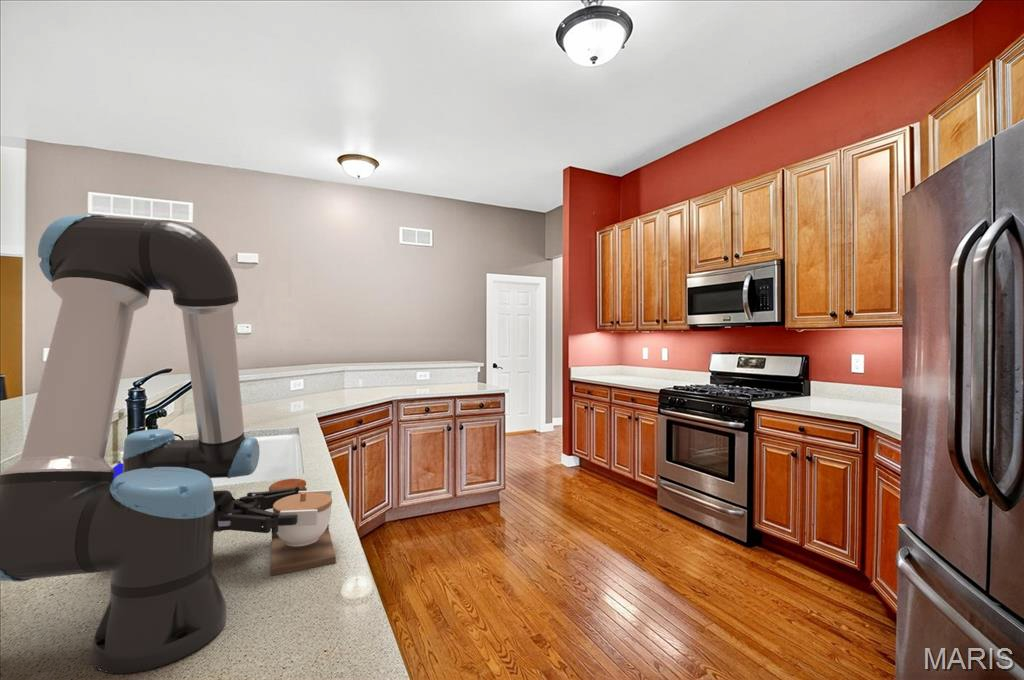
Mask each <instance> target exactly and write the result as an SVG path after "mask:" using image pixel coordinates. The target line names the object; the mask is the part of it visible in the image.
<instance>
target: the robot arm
mask: <svg viewBox="0 0 1024 680" xmlns="http://www.w3.org/2000/svg"><path fill="white" fill-rule="evenodd" d="M38 242H39V243H38V247H37V257H38V258H40V260H41V261H40V262H39V264H38V265H39V268H40V270H41V272H42V273H43V276H44V277H45V278H46V279H47V280H48V281H49V282H51V289H52V291H53V292H54V293H55V294H56V295H57V296H58V297H60V299H61V303H60V305H59V306H60V307H59V310H58V315H57V317H56V318H57V319H56V322H55V325H54V330H53V334H52V338H51V341H50V344H49V349H48V352H47V357H46V359H45V364H44V368H43V372H42V376H41V380H40V383H39V388H38V391H37V394H36V398H35V403H34V406H33V411H32V414H31V418H30V422H29V425H28V428H27V429H28V430H27V433H26V436H25V441H24V445H23V449H22V453H21V456H20V459H19V460H18V461H17V462H16V463H14V464H13V465H11V466H10V467H8V468H6V469H4V470H3V471H1V472H0V582H6V581H7V582H10V581H11V582H16V583H17V582H18V583H20V582H25V581H29V580H33V579H35V580H36V579H43V578H45V579H46V578H53V577H63V576H72V575H73V576H74V575H84V574H93V573H104V572H105V573H106V572H109V573H110V593H109V594H110V595H109V599H108V601H107V604H106V606H105V609H104V612H103V614H102V617H101V619H100V621H99V624H98V626H97V629H96V631H95V634H94V637H93V639H92V644H91V645H92V646H91V647H92V649H91V652H92V654H91V661H92V664H94V665H93V666H94V667H95V666H96V667H97V668H99V669H101V670H103V671H102V672H104V671H107V672H106V673H108V672H112V673H111V674H131V673H138V672H137V671H139V672H142V671H141V670H144V671H147V670H146V669H148V670H151V669H150V668H152V669H155V667H156V668H159V667H162V666H165V665H169V664H171V663H174V662H176V661H178V660H180V659H182V658H184V657H187V656H189V655H191V654H193V653H194V652H196V651H198V650H200V649H201V648H203V647H204V646H205V645H207V644H208V643H210V642H211V641H212V640H213V639H214V638H215V637H217V635H218V634H219V633H220V632H221V631H222V629H223V628H224V626H225V624H226V621H227V603H226V599H225V597H224V594H223V592H222V590H221V587H220V584H219V582H218V580H217V577H216V575H215V572H214V533H220V532H223V531H238V532H239V531H240V532H249V533H260V534H269V533H270V532H271V534H272V533H276V532H278V526H279V527H288V526H308V525H317V514H318V509H312V510H289V511H280V516H278V513H274V512H273V511H270V510H271V509H272V510H273V504H274V503H275V502H276V501H278V500H279V499H282V498H284V497H287V496H291V495H295V494H300V493H302V492H306V493H324V494H327V495H329V496H331V497H332V491H333V490H332V489H321V490H320V489H319V490H318V489H316V490H315V489H313V490H307V491H300V487H296V488H289V489H281V490H273V491H269V490H268V491H267V490H265V491H258V492H257V491H256V492H254V491H252V492H251V491H249V492H247V493H246V495H245V496H242V497H241V496H240V497H239V498H237V499H236V498H234V496H233V494H232V492H231V491H229V490H225V489H224V490H214V484H213V480H212V479H219V478H220V479H222V478H226V479H231V478H237V477H238V478H239V477H245V476H249V475H252V474H254V472H255V471H256V469H257V467H258V464H259V460H260V444H259V441H258V439H257V438H256V437H250V436H245V432H244V431H245V427H244V416H243V406H242V395H241V394H242V393H241V384H240V383H241V382H240V373H239V363H238V350H237V338H236V329H235V318H234V317H235V316H234V310H233V309H234V307H235V306H237V304H239V302H240V301H239V290H238V284H237V280H236V278H235V274H234V272H233V269H232V268H231V266H230V264H229V262H228V260H227V259H226V257H225V255H224V254H223V253H222V251H221V250H220V249H219V248H218V246H217V244H215V243H214V242H213V241H212V240H211V239H210V238H209V237H208V236H207V235H206V234H204V233H203V232H201V231H200V230H198V229H196V228H194V227H192V226H191V225H188V224H185V223H183V222H180V221H176V220H170V219H147V218H146V219H145V218H133V217H131V218H130V217H115V216H114V217H113V216H106V215H101V214H86V215H82V214H81V215H79V214H76V215H75V214H74V215H73V214H72V215H67V216H61V217H60V218H57V219H56V220H54V221H52V222H51V223H50V224H49V225H48V226H47V227H46V228H45V230H44V231H43V233H42V235H41V237H40V239H39V241H38ZM152 290H153V291H158V290H160V291H162V290H163V291H168V290H169V291H170V292H171V293H172V299H173V305H174V306H176V307H177V308H178V309H180V310H181V313H182V321H183V328H184V335H185V344H186V350H187V351H186V352H187V358H188V359H187V360H188V366H189V375H190V381H191V382H190V383H191V389H192V396H193V397H192V398H193V406H194V413H195V420H196V428H197V435H198V438H197V439H176V437H175V433H174V431H173V430H171V429H169V428H168V429H165V428H156V429H155V428H154V429H153V428H152V429H145V430H138V431H136V432H135V431H134V432H132V433H130V434H128V435H127V436H126V437H125V439H124V444H123V445H124V446H123V457H122V459H121V460H122V464H123V473H122V474H120V475H118V476H117V477H115V479H114V480H113V478H114V472H115V471H114V470H113V468H112V466H110V465H109V463H108V462H106V460H105V456H106V449H107V445H108V439H109V435H110V431H111V426H112V422H113V416H114V412H115V407H116V401H117V398H118V397H117V396H118V392H119V387H120V382H121V377H122V372H123V368H124V363H125V358H126V352H127V347H128V343H129V339H130V334H131V328H132V323H133V319H134V314H135V311H139V310H140V309H142V308H144V307H146V306H147V305H148V303H149V299H150V294H151V291H152ZM268 510H269V511H268ZM158 666H159V667H158ZM96 667H95V668H96ZM97 668H96V669H97ZM99 669H98V670H99ZM101 670H100V671H101Z"/></svg>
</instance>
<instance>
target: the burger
mask: <svg viewBox="0 0 1024 680" xmlns="http://www.w3.org/2000/svg"><path fill="white" fill-rule="evenodd" d="M306 486H307V482H306V480H305V479H302V478H286V479H282V480H278V481H276V482H274V483H272V484H271V485H270V486H269V487H268V491H273V490H281V489H289V488H296V487H300V491H308V490H307V487H306Z"/></svg>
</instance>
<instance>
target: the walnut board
mask: <svg viewBox="0 0 1024 680" xmlns="http://www.w3.org/2000/svg"><path fill="white" fill-rule="evenodd" d="M329 529H330V528H329V524H328V526H327V528H326V530H325V531H324V533H323V534H322V535H321V536H320V537H319V539H318V540H317V541H316V542H314V543H312V544H310V545H306V546H300V547H292V546H288V545H286V542H284V541H283V540H282V539H280V538H279V536H278V535H277V533H272V532H271V545H270V546H271V548H270V550H271V551H270V552H271V553H270V576H271V577H273V576H277V575H282V574H286V573H291V572H296V571H302V570H307V569H312V568H316V567H317V566H318V567H321V566H322V565H323V566H326V565H325V564H328V565H331V564H330V563H333V564H335V563H334V562H336V558H337V557H336V553H335V548H334V544H333V542H332V541H333V540H332V536H331V534H330V530H329ZM336 563H337V562H336Z"/></svg>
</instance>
